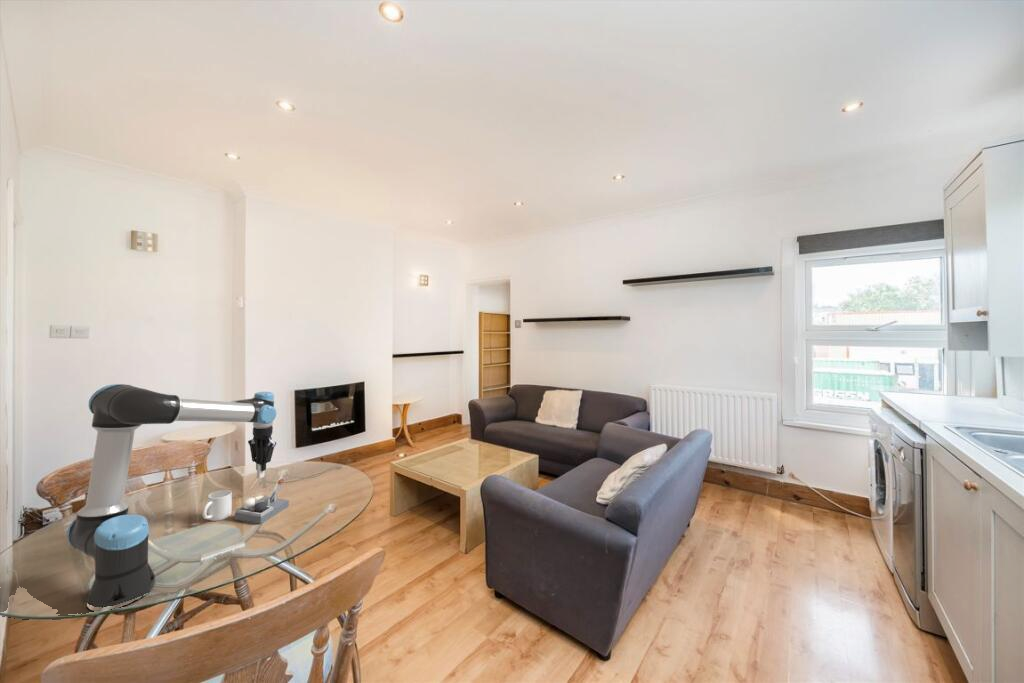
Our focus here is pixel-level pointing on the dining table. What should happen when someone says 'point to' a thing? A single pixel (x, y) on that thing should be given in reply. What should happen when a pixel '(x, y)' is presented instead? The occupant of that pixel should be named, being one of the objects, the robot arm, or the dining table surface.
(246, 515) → the panel
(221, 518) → the mug
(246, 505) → the button ivory
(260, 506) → the button black
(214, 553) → the dining table surface
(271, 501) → the lever
